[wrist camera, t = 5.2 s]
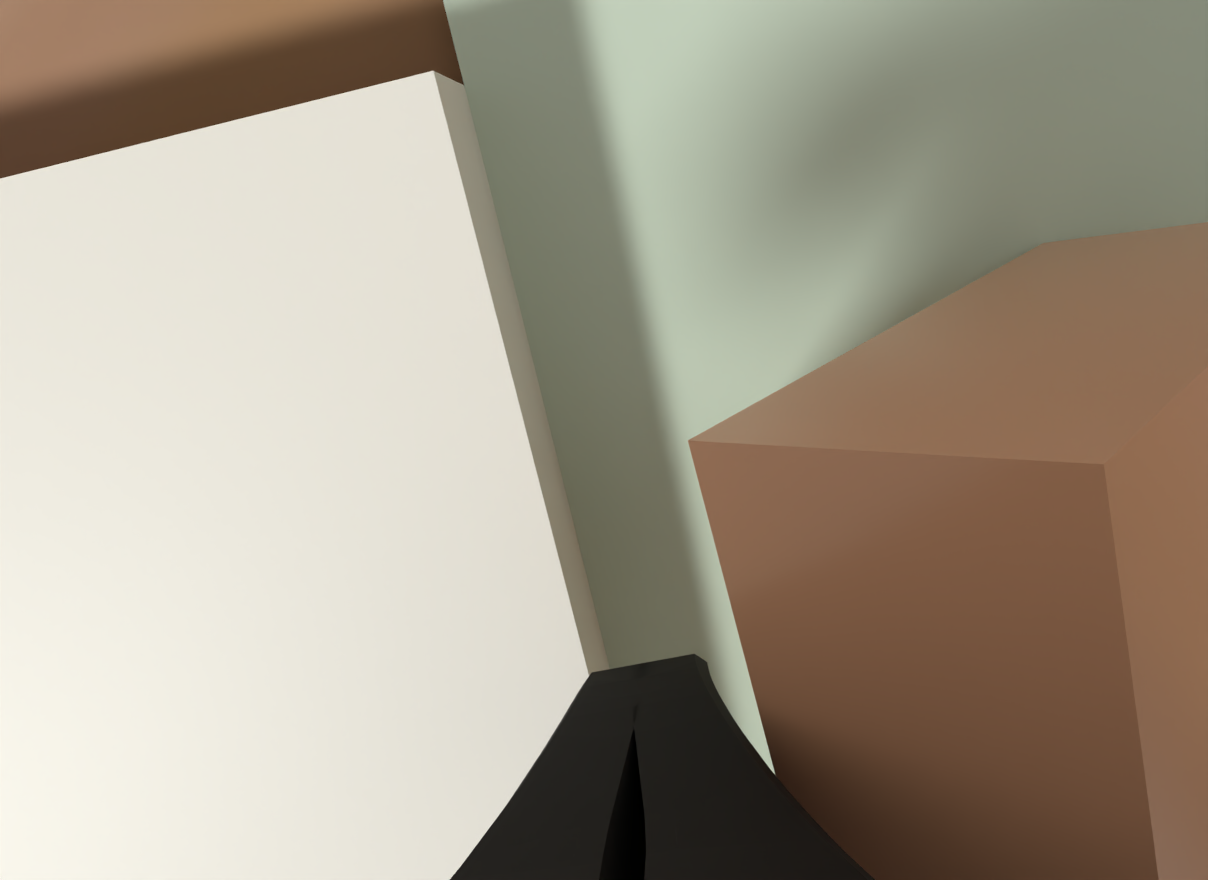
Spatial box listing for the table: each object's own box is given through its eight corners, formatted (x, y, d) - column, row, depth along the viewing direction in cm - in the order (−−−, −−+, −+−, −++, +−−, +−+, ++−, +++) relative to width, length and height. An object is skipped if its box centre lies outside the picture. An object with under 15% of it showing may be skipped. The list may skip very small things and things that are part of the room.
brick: (1043, 242, 10) (1383, 199, 8) (1115, 755, 12) (1409, 839, 10) (688, 440, 7) (1103, 463, 5) (862, 1111, 9) (1223, 1368, 6)
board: (470, 88, 11) (433, 70, 9) (701, 1018, 14) (711, 1150, 12) (-433, 310, 12) (-643, 338, 10) (2, 1117, 15) (-87, 1252, 14)
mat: (1711, -330, 9) (1758, -352, 9) (1591, 947, 13) (1619, 969, 13) (448, -4, 10) (440, -12, 10) (713, 1067, 15) (715, 1091, 14)
